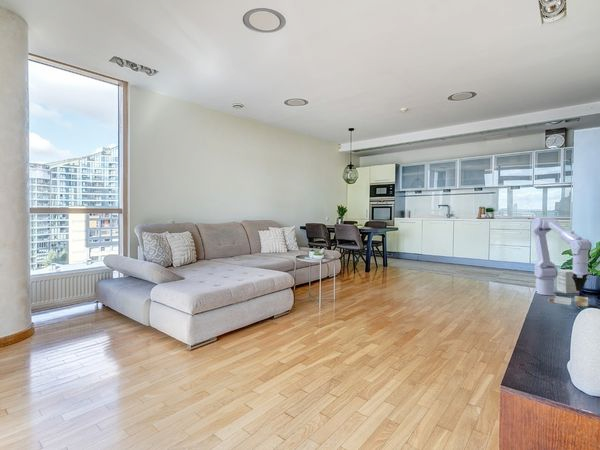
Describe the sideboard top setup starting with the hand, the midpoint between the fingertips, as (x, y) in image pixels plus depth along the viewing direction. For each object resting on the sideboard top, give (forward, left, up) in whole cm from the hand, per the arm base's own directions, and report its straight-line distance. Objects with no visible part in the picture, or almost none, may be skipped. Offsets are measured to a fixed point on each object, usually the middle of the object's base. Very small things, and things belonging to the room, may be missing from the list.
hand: (579, 289), depth 156 cm
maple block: (0, +1, -8) cm, 8 cm away
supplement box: (-28, +7, -8) cm, 30 cm away
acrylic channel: (-3, -6, -8) cm, 10 cm away
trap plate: (-5, -10, -8) cm, 14 cm away
